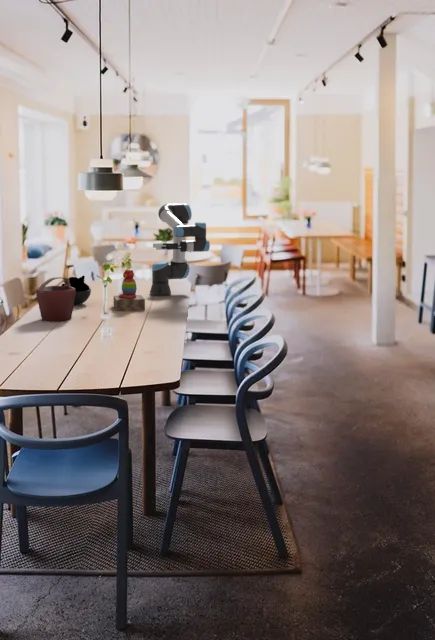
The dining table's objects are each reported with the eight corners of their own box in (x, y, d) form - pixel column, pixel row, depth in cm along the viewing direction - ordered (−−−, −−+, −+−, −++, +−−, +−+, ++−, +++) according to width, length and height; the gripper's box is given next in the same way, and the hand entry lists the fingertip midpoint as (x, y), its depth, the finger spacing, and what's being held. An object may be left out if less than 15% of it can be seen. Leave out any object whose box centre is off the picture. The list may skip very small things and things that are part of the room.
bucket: (64, 314, 484) (63, 274, 480) (85, 319, 469) (84, 277, 464) (29, 319, 468) (27, 277, 463) (49, 324, 452) (47, 281, 447)
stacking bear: (117, 297, 507) (116, 269, 504) (129, 295, 515) (128, 268, 511) (128, 299, 500) (128, 271, 497) (140, 297, 508) (140, 269, 504)
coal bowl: (63, 307, 508) (62, 278, 505) (58, 303, 527) (57, 275, 523) (94, 306, 516) (93, 277, 512) (87, 301, 534) (87, 273, 530)
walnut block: (141, 305, 519) (141, 294, 518) (145, 310, 502) (144, 299, 501) (113, 306, 515) (113, 295, 514) (116, 311, 498) (116, 300, 497)
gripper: (189, 253, 514) (157, 254, 510) (182, 249, 538) (151, 250, 533) (189, 242, 513) (157, 242, 508) (182, 238, 537) (151, 239, 532)
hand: (154, 246), depth 521 cm, fingers open, 13 cm apart
